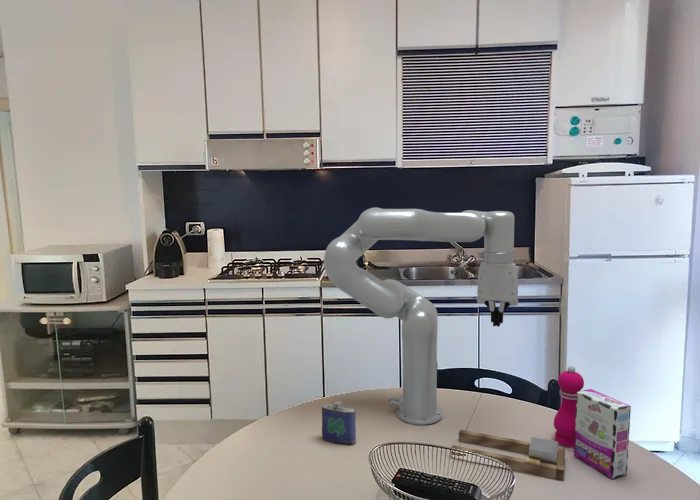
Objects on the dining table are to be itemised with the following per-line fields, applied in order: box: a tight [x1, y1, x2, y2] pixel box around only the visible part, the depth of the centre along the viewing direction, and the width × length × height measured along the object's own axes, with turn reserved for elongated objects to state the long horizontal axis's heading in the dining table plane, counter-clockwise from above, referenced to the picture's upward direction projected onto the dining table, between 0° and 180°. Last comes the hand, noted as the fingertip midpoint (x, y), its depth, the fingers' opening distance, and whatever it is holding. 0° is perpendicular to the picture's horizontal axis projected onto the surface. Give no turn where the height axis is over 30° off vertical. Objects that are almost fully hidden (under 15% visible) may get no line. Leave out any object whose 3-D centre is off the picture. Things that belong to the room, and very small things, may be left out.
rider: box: [528, 436, 559, 465], centre depth 122 cm, size 6×6×5 cm
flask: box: [321, 400, 357, 446], centre depth 134 cm, size 9×3×11 cm, turn 68°
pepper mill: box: [553, 365, 585, 448], centre depth 132 cm, size 7×7×20 cm
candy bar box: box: [573, 388, 632, 480], centre depth 121 cm, size 11×5×16 cm, turn 23°
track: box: [450, 429, 566, 481], centre depth 125 cm, size 25×10×3 cm, turn 66°
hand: (496, 325), depth 141 cm, fingers closed
